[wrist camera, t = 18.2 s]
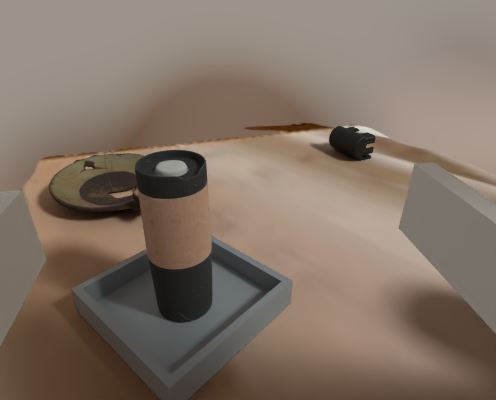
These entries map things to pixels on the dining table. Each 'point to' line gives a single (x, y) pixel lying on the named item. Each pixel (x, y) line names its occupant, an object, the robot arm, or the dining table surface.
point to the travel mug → (177, 231)
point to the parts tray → (182, 334)
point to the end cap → (352, 142)
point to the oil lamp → (97, 183)
